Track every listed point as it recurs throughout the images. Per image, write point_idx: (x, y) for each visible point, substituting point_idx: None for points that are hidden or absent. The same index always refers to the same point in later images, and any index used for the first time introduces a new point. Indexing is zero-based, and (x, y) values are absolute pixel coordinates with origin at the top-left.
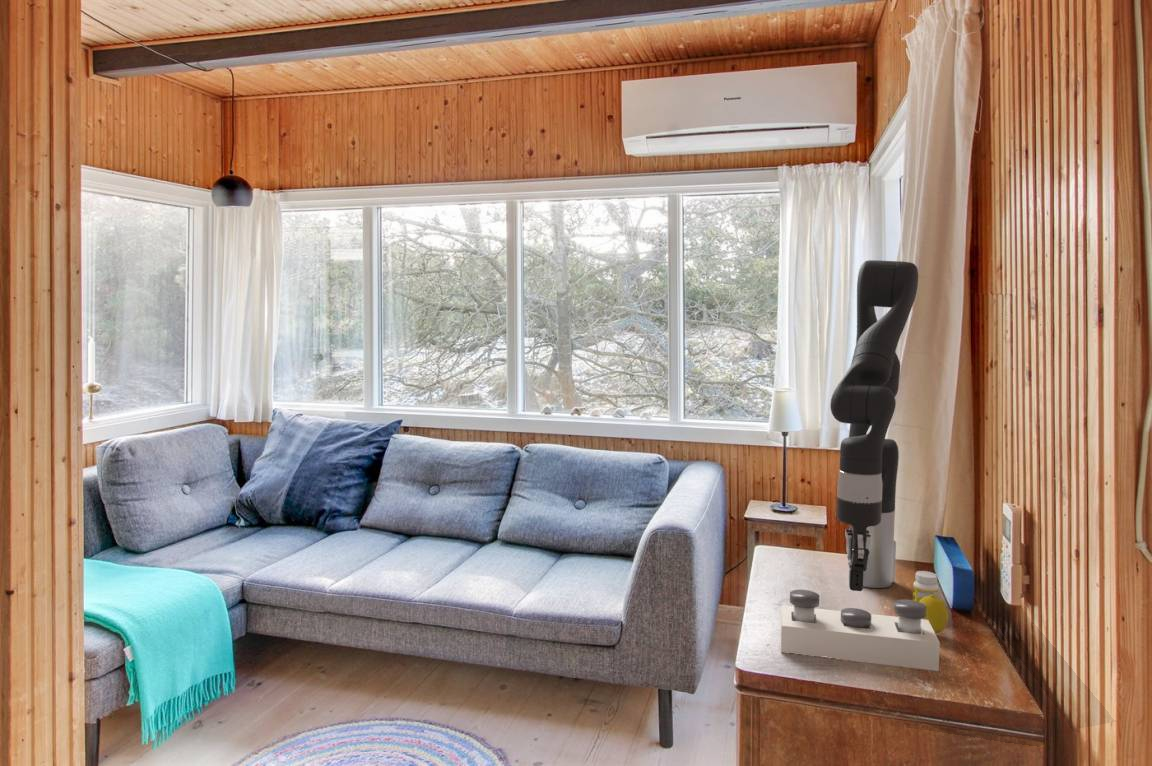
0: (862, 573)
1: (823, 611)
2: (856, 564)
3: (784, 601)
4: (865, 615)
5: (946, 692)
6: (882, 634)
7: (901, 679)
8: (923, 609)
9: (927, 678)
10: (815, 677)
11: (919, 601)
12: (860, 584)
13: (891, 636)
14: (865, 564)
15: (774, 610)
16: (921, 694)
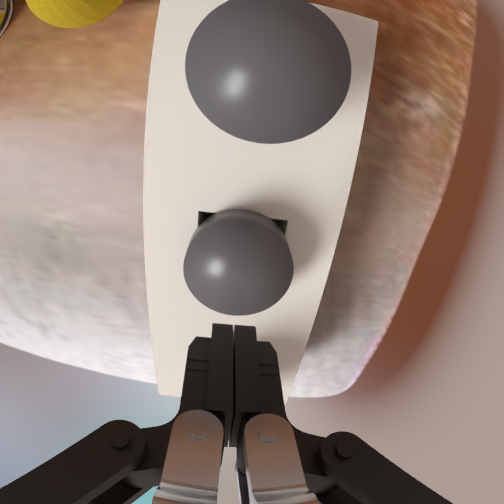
0: (259, 403)
1: (166, 324)
2: (334, 488)
3: (25, 315)
4: (252, 244)
5: (443, 75)
6: (330, 190)
7: (397, 149)
8: (326, 21)
9: (388, 83)
10: (380, 316)
11: (44, 11)
12: (276, 363)
13: (344, 164)
14: (407, 480)
15: (74, 341)
16: (452, 134)
